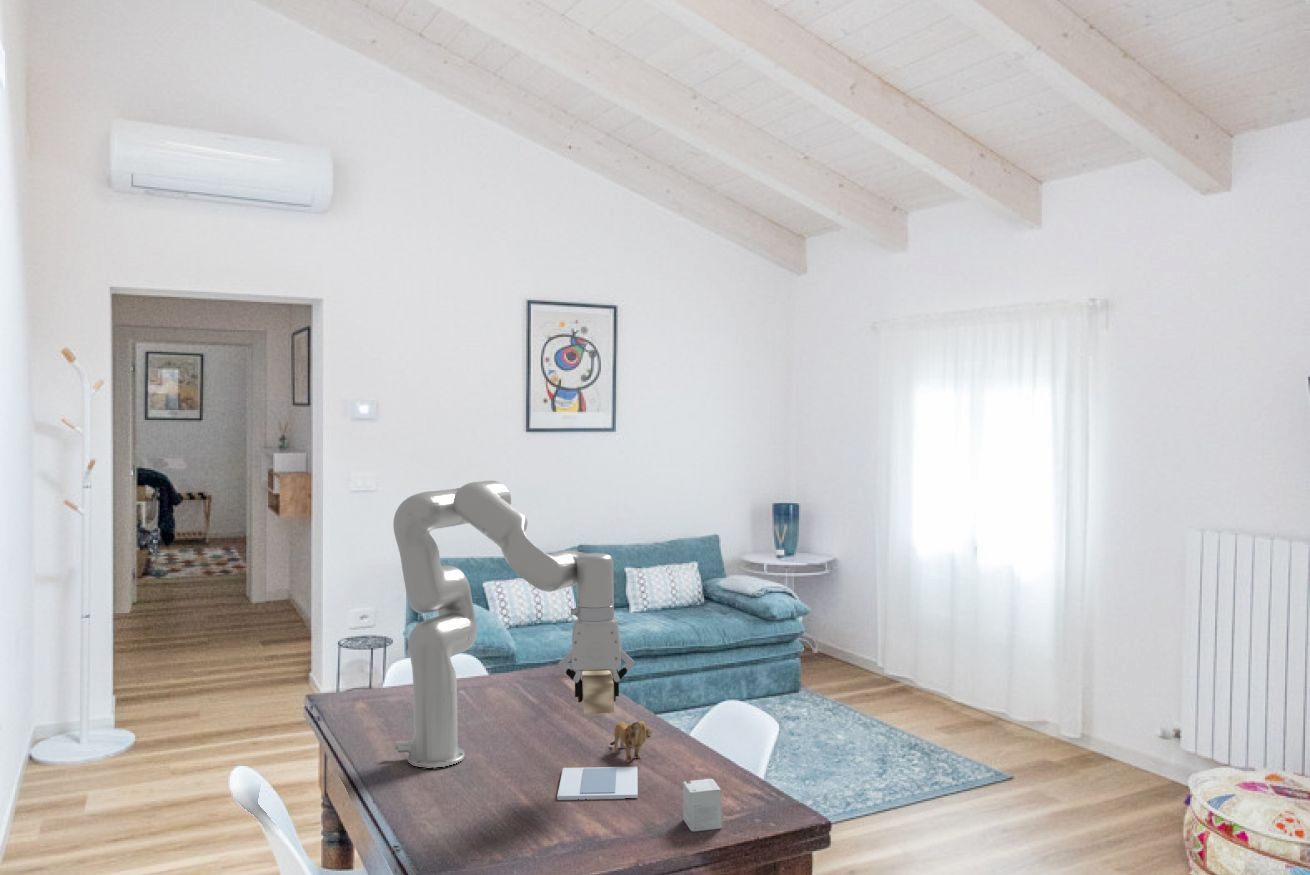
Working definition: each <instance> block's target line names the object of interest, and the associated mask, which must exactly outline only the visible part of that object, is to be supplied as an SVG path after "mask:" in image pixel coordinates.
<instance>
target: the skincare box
mask: <svg viewBox="0 0 1310 875" xmlns="http://www.w3.org/2000/svg"><path fill="white" fill-rule="evenodd" d="M682 798H683V800H682V801H683V806H682V807H683V821H684V822H685V824H686V825H687V827H688V829H689V830H690V832H701V831H711V830H718V829H719V830H720V829H722V828H723V818H722V817H723V816H722V815H723V814H722V811H723V810H722V809H723V808H722V789H721V788H720V786H718V784H717V782H716V781H715V780H714V779H713V778H704V779H693V780H684V781H683V782H682Z"/></svg>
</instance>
